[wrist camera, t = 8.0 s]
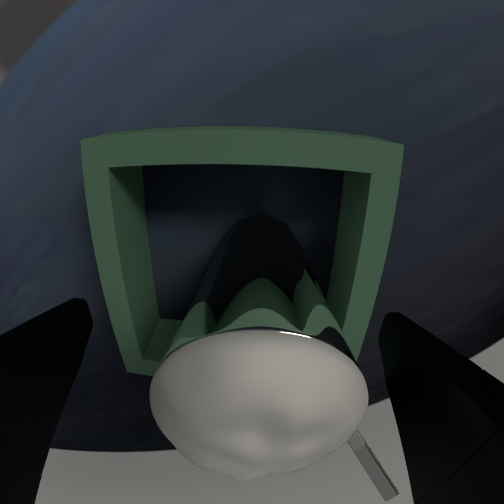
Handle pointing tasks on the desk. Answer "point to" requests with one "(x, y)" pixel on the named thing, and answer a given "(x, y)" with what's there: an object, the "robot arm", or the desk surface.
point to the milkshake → (261, 366)
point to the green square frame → (233, 152)
